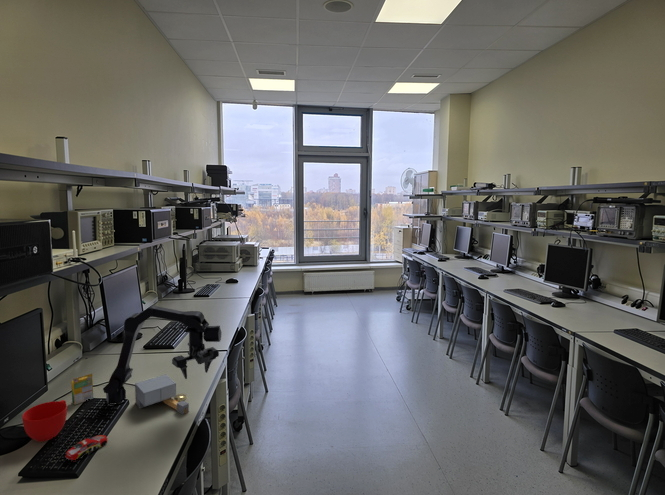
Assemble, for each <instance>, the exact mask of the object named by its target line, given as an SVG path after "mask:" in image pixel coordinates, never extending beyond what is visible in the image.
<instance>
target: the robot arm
mask: <svg viewBox="0 0 665 495" xmlns="http://www.w3.org/2000/svg"><path fill="white" fill-rule="evenodd" d="M150 318H156V319H157V318H158V319H161V320H167V321H172V322H178V323H180V324H182V325H184V326H186V328H185V329H183V333H188V342H187V346H188V351H187V355H188V356H183V355H181V354H180V355H177V356H173V358H172V359H171V364H172V365H173V366H175V367H176V368H179V369H180V371H181V373H182V375H183V377H184V379H185V380H188V372H187V370H188V362H190V361H193V360H195V361H196V364H198V365H202V364H204V372H205V373H206V374H207V373H208V371H209V368H210V367H211V364H212V362H213V361H214V360H216V359H217V358H218V357H219V356H220V355H219V354H220V352H219V350H218V349H216V348H215V347H213V346H212V347H207V348H206V347H205V343H204V341H205V342H207V343H208V342H209V343H212V342H213V343H220V342H221V340H222V330H221V325H210V324H209V322H208V321H207V319H205V315H204V314H203V312H202V311H200V310H195V311H194V310H189V311H181V310H178V309H172V308H167V307H162V306H157V305H155V304H154V305H153V304H152V305H149V307H147V308H146V309H143V311H141V312H135V313H133V314H132V315H130V316H128V317H127V318H126V319H125V320H124V322H123V323H124V324H123V332H124V339H123V341H122V345H121V346H122V347H121V351H120V354H119V357H118V361H117V365H116V367H115V368H114V370H113V372H112V374H111V375H110V378H109V381H108V383H107V384H106V385H105V386H104V387H103V388H102V391H103V392H104V394H106V395H105V397H106V398H105V400H106V401H107V403H108V404H110V403H117V402H120V401H122V400H126V398H127V397H126V396H127V395H126V392H127V391H126V388H125V386H124V385H125V384H126V383H127V382H128V380H130V379H131V378H132V374H133V370H134V368H131V366H130V363H131V359H132V355H133V352H134V348H135V344H136V341H137V336H138V334H139V332H140V331H141V330H142V328H143V325H144V324H145V321H146V320H148V319H150ZM107 403H106V404H107ZM108 404H107V405H108Z"/></svg>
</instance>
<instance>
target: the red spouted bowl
mask: <svg viewBox="0 0 665 495" xmlns="http://www.w3.org/2000/svg"><path fill="white" fill-rule="evenodd" d="M67 412H68V406H67V401H66V400H64V399H61V400H59V401H56V400H55V401H53V400H52V401H48V402H46V401H45V402H43V403H40V404H37V405H34V406H32V407H30V408H28V409H27V410H26V411H24V412H23V414H22V417H21V418H22V425H23V428H24V432H25V434H26V435H27V436H28V437H29V438H30V439H32V440H34V441H36V442H37V443H38V442H39V443H42V442H46V441H50V440H52V439H54V438H56V436H58V434H59V433H60V432H61V430H62V429H63V428H64V426H65V424H66V419H67V415H68V414H67ZM53 437H54V438H53Z"/></svg>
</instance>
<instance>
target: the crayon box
mask: <svg viewBox="0 0 665 495" xmlns="http://www.w3.org/2000/svg"><path fill="white" fill-rule="evenodd" d="M93 382H94V380H93V373H89V374H85V375H82V376H78V377H75V378H73V380H70V384H71V385H70V386H71V400H72V404H74V406H75V405H77V404H82V403H84V402H87V401H89V400H88V399H90V400H93V399H94V386H93V385H94V383H93ZM86 400H87V401H86Z"/></svg>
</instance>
